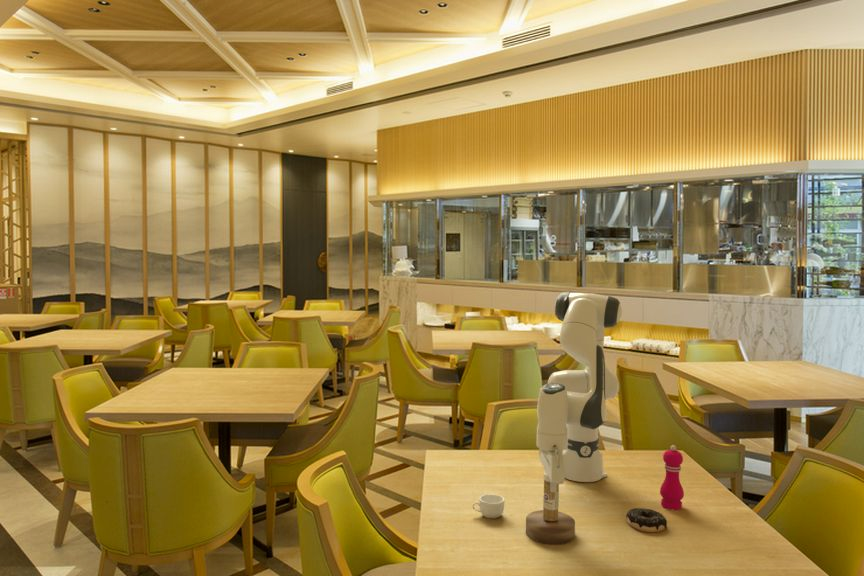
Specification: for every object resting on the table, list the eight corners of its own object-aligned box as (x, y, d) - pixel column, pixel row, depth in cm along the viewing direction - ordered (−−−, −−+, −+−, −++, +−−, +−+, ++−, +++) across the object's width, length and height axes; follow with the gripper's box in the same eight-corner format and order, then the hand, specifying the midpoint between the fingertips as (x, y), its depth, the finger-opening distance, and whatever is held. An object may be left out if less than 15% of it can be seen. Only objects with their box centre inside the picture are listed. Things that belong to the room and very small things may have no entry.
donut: (647, 537, 183) (647, 523, 182) (617, 521, 193) (618, 508, 193) (674, 529, 188) (674, 516, 187) (644, 514, 198) (644, 502, 198)
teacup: (500, 510, 200) (501, 493, 200) (507, 520, 193) (507, 502, 192) (469, 511, 199) (470, 494, 199) (474, 521, 191) (475, 504, 191)
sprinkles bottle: (539, 518, 183) (540, 473, 183) (547, 513, 187) (548, 469, 186) (553, 523, 180) (554, 477, 180) (561, 518, 184) (562, 472, 183)
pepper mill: (685, 511, 200) (687, 449, 199) (661, 509, 202) (663, 448, 200) (681, 502, 207) (683, 442, 206) (658, 500, 209) (659, 441, 208)
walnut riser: (522, 522, 191) (522, 509, 191) (569, 523, 191) (569, 510, 190) (529, 544, 177) (529, 530, 177) (579, 544, 177) (579, 530, 176)
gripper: (570, 452, 172) (569, 502, 173) (556, 430, 192) (555, 475, 193) (547, 452, 172) (546, 501, 173) (535, 430, 192) (534, 475, 193)
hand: (551, 487), depth 183 cm, fingers closed on sprinkles bottle, 4 cm apart
